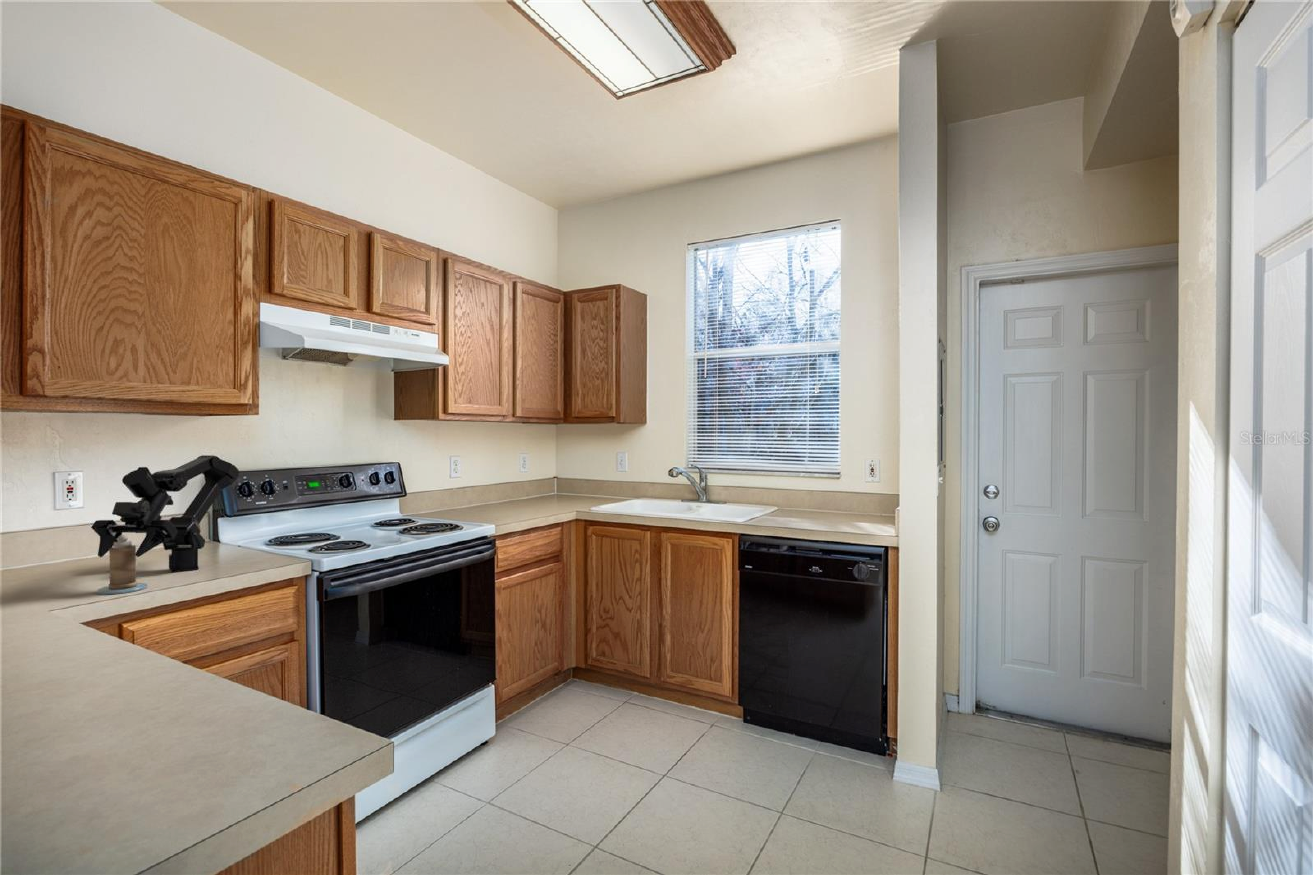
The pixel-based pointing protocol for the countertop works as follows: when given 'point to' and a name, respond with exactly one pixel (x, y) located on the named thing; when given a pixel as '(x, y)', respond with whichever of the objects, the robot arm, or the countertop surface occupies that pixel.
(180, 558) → the robot arm
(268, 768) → the countertop surface
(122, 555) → the pepper mill
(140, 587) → the trivet
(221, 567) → the countertop surface
